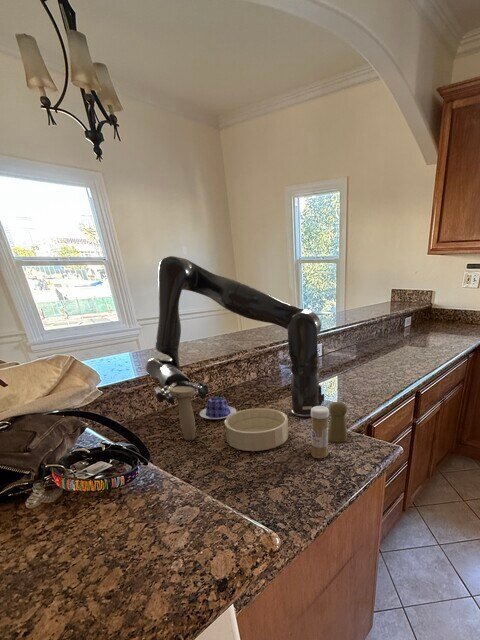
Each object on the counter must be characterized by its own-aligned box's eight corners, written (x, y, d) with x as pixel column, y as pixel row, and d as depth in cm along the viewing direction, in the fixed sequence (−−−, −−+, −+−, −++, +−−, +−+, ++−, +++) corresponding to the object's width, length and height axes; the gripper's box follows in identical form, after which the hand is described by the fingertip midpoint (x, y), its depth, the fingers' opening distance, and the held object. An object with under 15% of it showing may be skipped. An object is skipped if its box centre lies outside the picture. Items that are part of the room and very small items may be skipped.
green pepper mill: (349, 435, 106) (351, 400, 101) (344, 443, 101) (345, 408, 96) (330, 432, 108) (331, 398, 103) (324, 440, 102) (324, 405, 98)
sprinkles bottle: (307, 455, 94) (307, 408, 89) (318, 449, 98) (319, 404, 92) (320, 461, 92) (320, 413, 86) (331, 454, 95) (332, 408, 89)
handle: (195, 443, 100) (187, 393, 93) (175, 440, 101) (166, 390, 95) (204, 436, 104) (197, 387, 97) (185, 433, 105) (177, 385, 99)
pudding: (241, 408, 124) (239, 394, 122) (229, 422, 113) (227, 407, 111) (208, 406, 125) (206, 392, 123) (193, 420, 114) (191, 405, 112)
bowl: (272, 421, 114) (271, 404, 112) (298, 442, 101) (298, 423, 98) (218, 434, 105) (216, 415, 103) (240, 459, 92) (238, 438, 90)
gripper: (146, 373, 103) (157, 389, 90) (196, 367, 110) (212, 380, 97) (151, 398, 106) (163, 416, 94) (200, 389, 113) (216, 406, 101)
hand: (188, 398), depth 96 cm, fingers open, 7 cm apart
